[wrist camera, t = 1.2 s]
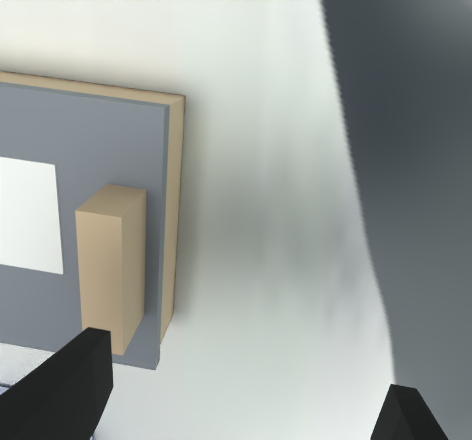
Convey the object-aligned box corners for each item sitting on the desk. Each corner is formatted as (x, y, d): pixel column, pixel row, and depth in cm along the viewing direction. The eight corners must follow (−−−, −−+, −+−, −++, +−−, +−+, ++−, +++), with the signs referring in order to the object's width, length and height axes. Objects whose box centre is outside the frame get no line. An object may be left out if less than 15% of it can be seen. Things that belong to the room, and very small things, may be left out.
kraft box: (172, 314, 24) (157, 351, 21) (3, 285, 25) (-33, 318, 22) (185, 95, 19) (166, 107, 16) (-30, 66, 19) (-83, 73, 17)
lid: (159, 359, 21) (137, 415, 18) (-40, 324, 22) (-94, 372, 19) (169, 104, 16) (140, 123, 13) (-95, 68, 16) (-182, 79, 13)
